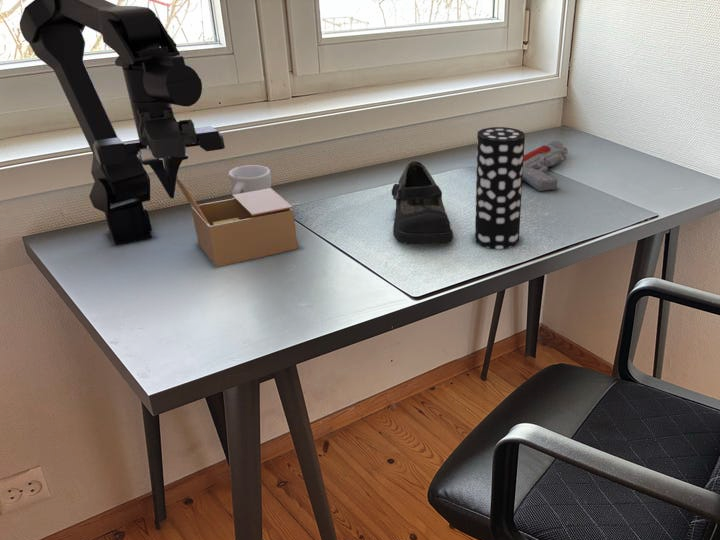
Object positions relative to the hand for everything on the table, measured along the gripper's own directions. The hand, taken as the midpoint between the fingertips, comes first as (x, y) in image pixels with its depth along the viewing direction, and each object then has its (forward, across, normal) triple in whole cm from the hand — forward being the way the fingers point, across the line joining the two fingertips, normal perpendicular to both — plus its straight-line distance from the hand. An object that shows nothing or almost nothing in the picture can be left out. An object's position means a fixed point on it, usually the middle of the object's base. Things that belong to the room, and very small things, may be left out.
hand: (171, 197), depth 121 cm
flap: (0, +3, +1) cm, 3 cm away
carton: (+12, +12, +2) cm, 17 cm away
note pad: (+11, +9, +2) cm, 15 cm away
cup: (+11, +17, +18) cm, 27 cm away
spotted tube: (+13, +53, -17) cm, 57 cm away
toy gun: (+11, +84, +9) cm, 86 cm away
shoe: (+12, +43, -6) cm, 45 cm away
